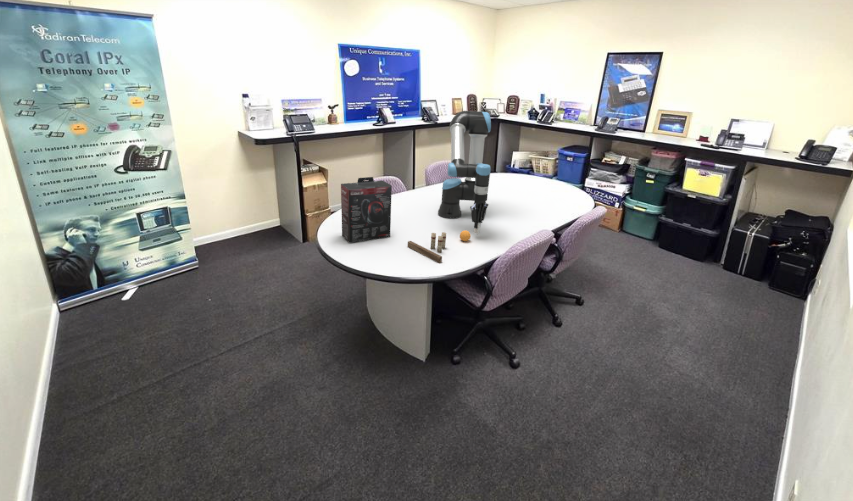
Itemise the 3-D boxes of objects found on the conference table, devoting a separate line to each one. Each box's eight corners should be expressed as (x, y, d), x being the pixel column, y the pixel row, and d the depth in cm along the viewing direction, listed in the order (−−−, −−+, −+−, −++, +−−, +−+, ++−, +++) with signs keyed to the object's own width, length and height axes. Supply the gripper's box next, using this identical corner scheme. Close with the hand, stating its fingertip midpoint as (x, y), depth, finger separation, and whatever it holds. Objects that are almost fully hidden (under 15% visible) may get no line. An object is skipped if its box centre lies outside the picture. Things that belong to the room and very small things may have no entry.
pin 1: (432, 247, 220) (433, 232, 216) (436, 248, 218) (437, 233, 215) (429, 248, 218) (430, 233, 215) (432, 249, 217) (433, 234, 213)
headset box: (382, 229, 239) (382, 173, 226) (391, 237, 230) (392, 178, 216) (341, 235, 227) (339, 176, 214) (349, 244, 218) (347, 182, 204)
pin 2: (439, 250, 216) (440, 235, 213) (442, 252, 215) (443, 236, 211) (435, 251, 215) (436, 236, 211) (439, 253, 213) (440, 238, 210)
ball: (464, 237, 234) (465, 228, 232) (472, 241, 230) (473, 231, 228) (457, 240, 230) (458, 230, 228) (464, 243, 226) (465, 233, 224)
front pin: (442, 246, 221) (444, 231, 218) (446, 248, 220) (447, 233, 216) (439, 247, 220) (440, 232, 216) (442, 249, 218) (443, 234, 215)
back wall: (410, 245, 220) (410, 240, 219) (441, 261, 204) (442, 256, 203) (407, 246, 219) (407, 241, 217) (438, 263, 203) (439, 257, 201)
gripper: (478, 196, 219) (473, 237, 228) (493, 192, 227) (488, 232, 237) (467, 193, 224) (463, 233, 233) (483, 189, 232) (479, 229, 242)
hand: (476, 233), depth 235 cm, fingers closed
